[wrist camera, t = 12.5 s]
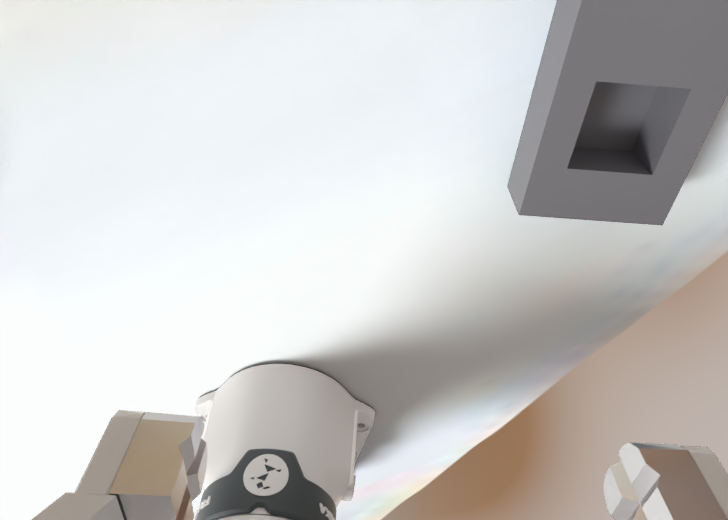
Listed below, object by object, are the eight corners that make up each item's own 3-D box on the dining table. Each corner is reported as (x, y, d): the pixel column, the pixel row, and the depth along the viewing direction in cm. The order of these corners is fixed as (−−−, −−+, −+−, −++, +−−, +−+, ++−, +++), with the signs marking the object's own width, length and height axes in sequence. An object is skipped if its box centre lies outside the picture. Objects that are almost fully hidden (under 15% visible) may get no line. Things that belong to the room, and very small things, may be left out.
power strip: (639, 196, 39) (666, 230, 36) (507, 186, 39) (520, 219, 35) (834, -244, 25) (914, -264, 21) (627, -264, 25) (671, -287, 21)
